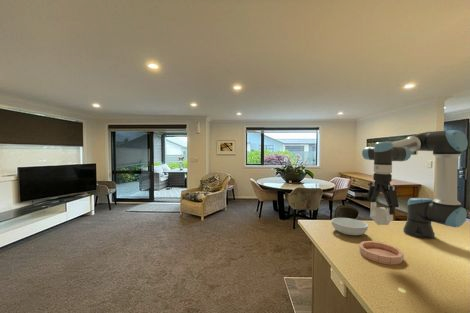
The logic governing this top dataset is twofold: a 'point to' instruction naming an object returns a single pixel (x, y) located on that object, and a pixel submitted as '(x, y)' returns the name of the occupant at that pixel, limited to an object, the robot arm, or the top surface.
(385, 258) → the tray
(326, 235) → the top surface
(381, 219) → the die
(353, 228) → the serving bowl
